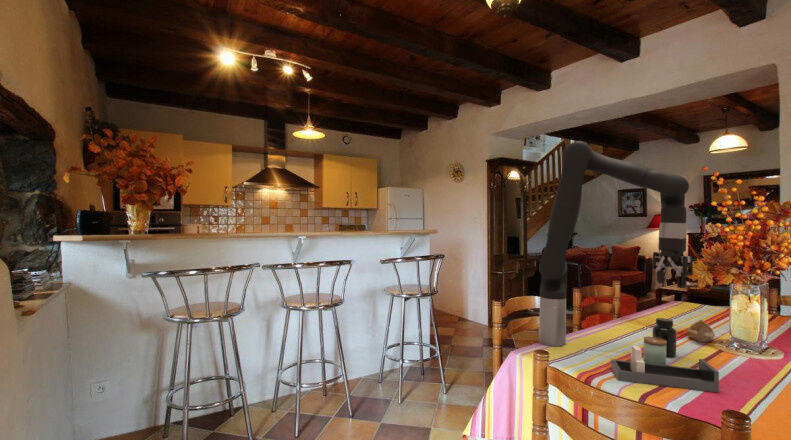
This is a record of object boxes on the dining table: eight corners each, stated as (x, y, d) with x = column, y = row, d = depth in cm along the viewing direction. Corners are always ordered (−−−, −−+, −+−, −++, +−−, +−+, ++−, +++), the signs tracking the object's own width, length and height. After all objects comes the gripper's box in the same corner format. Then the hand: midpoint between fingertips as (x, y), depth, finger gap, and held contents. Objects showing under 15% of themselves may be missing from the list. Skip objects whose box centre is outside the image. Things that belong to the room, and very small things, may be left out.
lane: (618, 380, 112) (618, 361, 112) (611, 367, 122) (611, 349, 122) (718, 392, 104) (718, 372, 104) (702, 378, 114) (702, 359, 114)
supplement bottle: (680, 358, 130) (680, 322, 130) (657, 356, 131) (658, 321, 131) (670, 351, 137) (670, 317, 137) (648, 349, 138) (649, 316, 138)
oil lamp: (686, 344, 145) (687, 317, 145) (686, 331, 162) (686, 307, 162) (716, 349, 140) (717, 321, 140) (712, 334, 157) (713, 310, 157)
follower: (636, 378, 112) (636, 351, 112) (630, 369, 119) (630, 343, 119) (644, 379, 111) (644, 352, 111) (637, 369, 118) (638, 344, 118)
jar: (646, 366, 123) (646, 341, 123) (641, 359, 129) (641, 335, 129) (669, 369, 121) (669, 343, 121) (662, 362, 127) (663, 337, 127)
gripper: (646, 235, 135) (644, 281, 135) (679, 237, 121) (677, 289, 121) (666, 235, 135) (664, 281, 136) (701, 238, 121) (699, 289, 121)
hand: (670, 285), depth 128 cm, fingers open, 8 cm apart
